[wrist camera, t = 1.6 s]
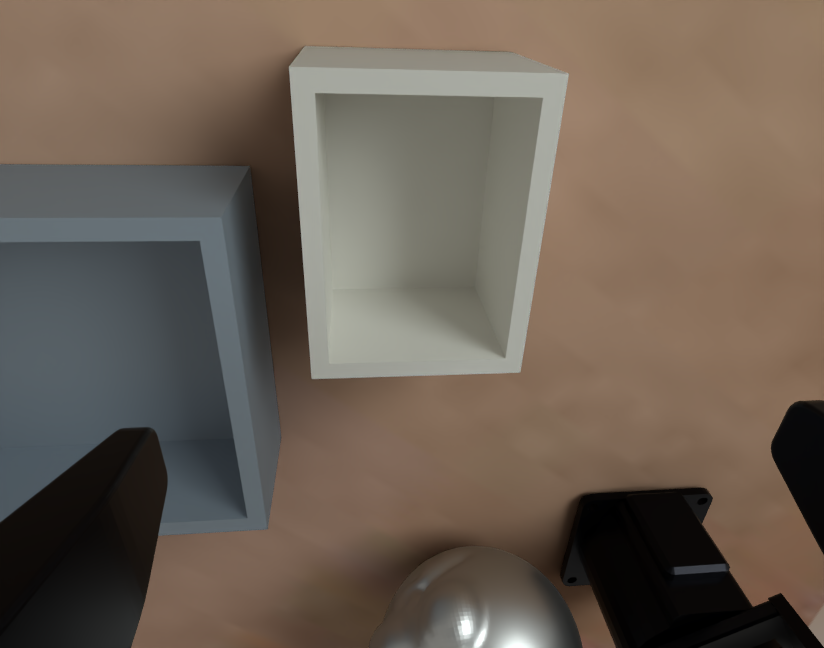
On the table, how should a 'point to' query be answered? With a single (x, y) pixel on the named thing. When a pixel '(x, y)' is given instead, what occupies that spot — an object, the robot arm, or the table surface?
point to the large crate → (138, 333)
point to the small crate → (421, 205)
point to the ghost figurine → (477, 605)
